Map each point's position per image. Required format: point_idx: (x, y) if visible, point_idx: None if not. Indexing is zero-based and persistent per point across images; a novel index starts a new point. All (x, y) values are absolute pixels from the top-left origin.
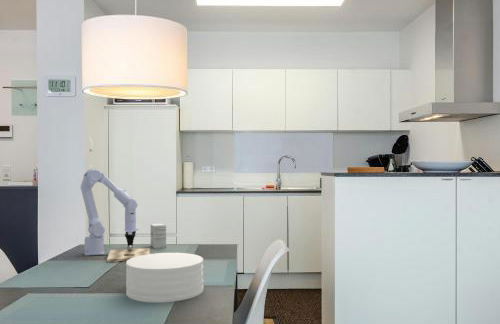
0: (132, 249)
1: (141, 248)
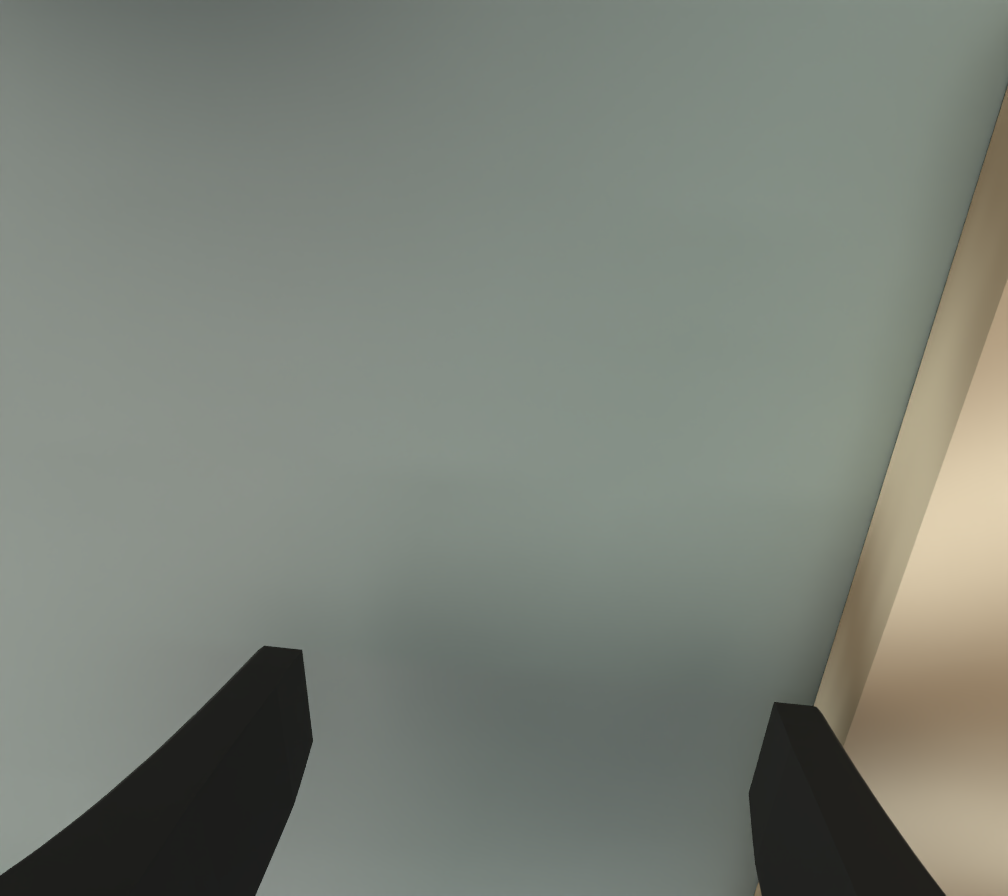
0: (1001, 678)
1: (992, 386)
